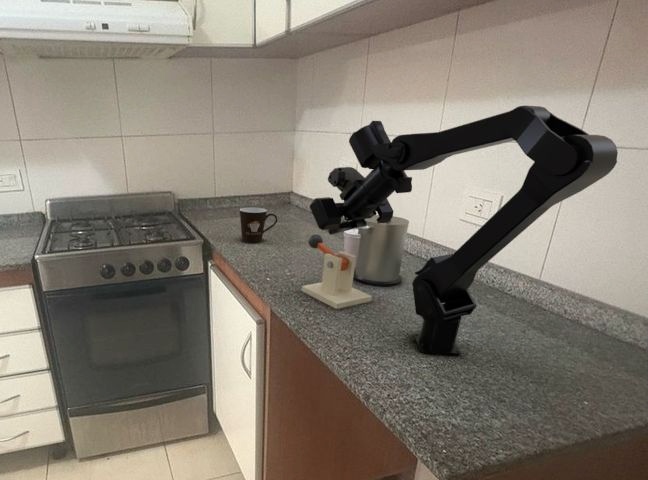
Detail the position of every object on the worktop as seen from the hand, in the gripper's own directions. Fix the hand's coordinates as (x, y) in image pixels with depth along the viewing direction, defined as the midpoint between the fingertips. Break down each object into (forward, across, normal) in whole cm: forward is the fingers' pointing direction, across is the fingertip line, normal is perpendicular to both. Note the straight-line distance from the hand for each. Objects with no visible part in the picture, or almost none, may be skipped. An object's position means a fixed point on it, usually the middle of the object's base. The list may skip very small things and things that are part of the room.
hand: (330, 232), depth 97 cm
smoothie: (+18, -19, +2) cm, 26 cm away
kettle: (+10, -17, +10) cm, 22 cm away
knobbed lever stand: (+7, 0, +13) cm, 14 cm away
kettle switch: (+5, 0, +4) cm, 6 cm away
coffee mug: (+42, -10, -22) cm, 49 cm away
